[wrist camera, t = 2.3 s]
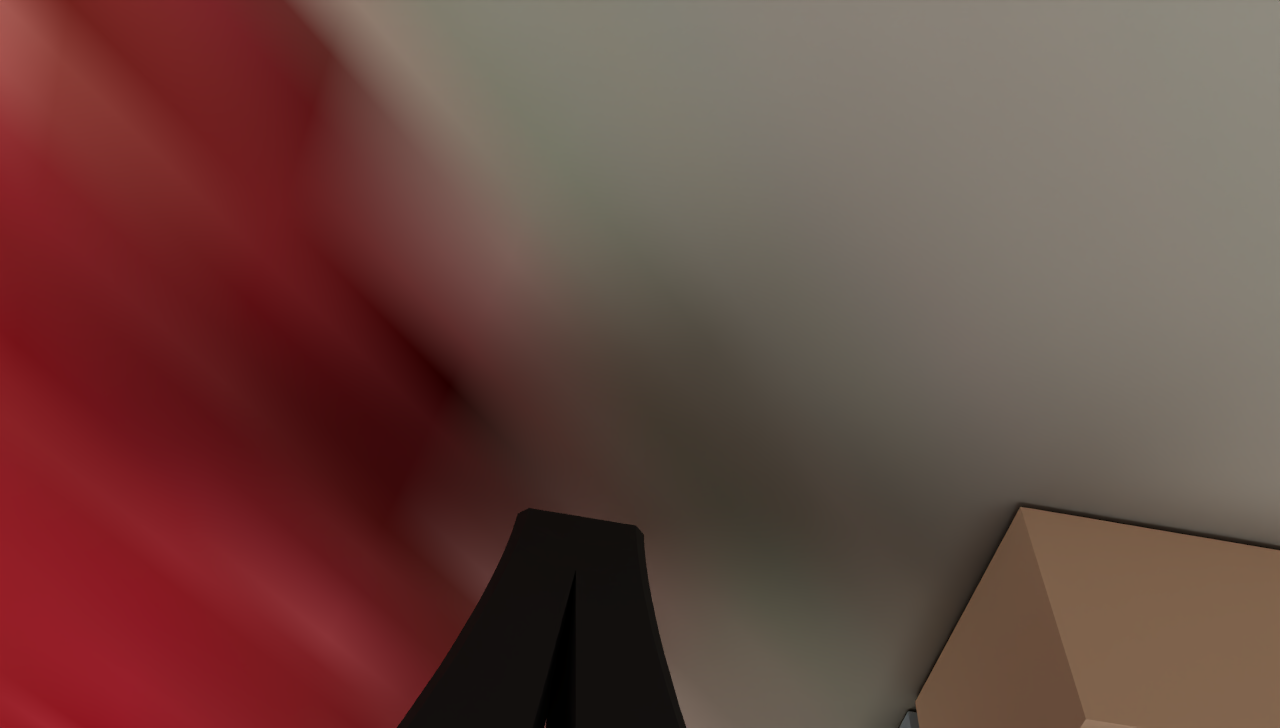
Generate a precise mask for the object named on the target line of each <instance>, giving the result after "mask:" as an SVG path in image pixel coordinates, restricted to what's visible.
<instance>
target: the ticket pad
mask: <svg viewBox="0 0 1280 728" xmlns="http://www.w3.org/2000/svg"><path fill="white" fill-rule="evenodd" d="M899 728H919V722H918V716H917V713H916V712H910V711H908V712H907V714H906V716H905V718H904V720H903V722H902V723H901V725H900V727H899Z"/></svg>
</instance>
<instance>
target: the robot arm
mask: <svg viewBox="0 0 1280 728" xmlns="http://www.w3.org/2000/svg"><path fill="white" fill-rule="evenodd" d="M545 722H546V728H686V726H685V722H684V719H683V716H682V713H681V710H680V707H679V704H678V700H677V697H676V693H675V690H674V686H673V683H672V679H671V676H670V672H669V669H668V665H667V662H666V658H665V655H664V651H663V647H662V643H661V639H660V635H659V631H658V626H657V621H656V617H655V612H654V607H653V603H652V598H651V592H650V587H649V581H648V574H647V568H646V559H645V550H644V535H643V533H642V532H641V531H640V530H639V529H638V527H637V526H635V525H629V524H623V523H617V522H610V521H604V520H598V519H592V518H586V517H580V516H574V515H568V514H562V513H556V512H550V511H543V510H537V509H531V508H528V509H526V510H524V511H522V512H520V513H518V515H517V518H516V521H515V525H514V528H513V531H512V534H511V536H510V539H509V541H508V543H507V546H506V548H505V551H504V553H503V555H502V557H501V560H500V562H499V564H498V566H497V568H496V570H495V572H494V574H493V576H492V578H491V580H490V582H489V584H488V585H487V587H486V589H485V591H484V593H483V595H482V597H481V599H480V601H479V602H478V604H477V606H476V608H475V609H474V611H473V613H472V614H471V616H470V618H469V619H468V621H467V623H466V624H465V626H464V628H463V629H462V631H461V633H460V634H459V636H458V638H457V639H456V641H455V643H454V644H453V646H452V648H451V649H450V651H449V653H448V654H447V656H446V657H445V659H444V660H443V662H442V663H441V665H440V666H439V668H438V669H437V671H436V672H435V674H434V675H433V677H432V678H431V680H430V681H429V682H428V684H427V685H426V687H425V688H424V690H423V691H422V693H421V694H420V695H419V697H418V698H417V700H416V701H415V703H414V704H413V706H412V707H411V708H410V710H409V711H408V713H407V714H406V716H405V717H404V719H403V720H402V721H401V723H400V724H399V725H398V727H397V728H544V726H545Z"/></svg>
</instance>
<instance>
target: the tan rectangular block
mask: <svg viewBox="0 0 1280 728" xmlns="http://www.w3.org/2000/svg"><path fill="white" fill-rule="evenodd" d="M915 704H916V710H917V716H918V722H919V728H1280V550H1274V549H1268V548H1262V547H1256V546H1250V545H1244V544H1239V543H1233V542H1227V541H1221V540H1215V539H1209V538H1203V537H1197V536H1191V535H1185V534H1179V533H1173V532H1167V531H1162V530H1156V529H1150V528H1144V527H1138V526H1132V525H1126V524H1120V523H1114V522H1108V521H1102V520H1096V519H1090V518H1084V517H1079V516H1073V515H1067V514H1061V513H1055V512H1049V511H1043V510H1037V509H1031V508H1025V507H1020V508H1019V510H1018V512H1017V514H1016V516H1015V517H1014V519H1013V521H1012V523H1011V525H1010V527H1009V529H1008V530H1007V532H1006V534H1005V536H1004V538H1003V540H1002V542H1001V543H1000V545H999V547H998V549H997V551H996V553H995V555H994V556H993V558H992V560H991V562H990V564H989V566H988V568H987V569H986V571H985V573H984V575H983V577H982V579H981V581H980V582H979V584H978V586H977V588H976V590H975V592H974V594H973V595H972V597H971V599H970V601H969V603H968V605H967V607H966V608H965V610H964V612H963V614H962V616H961V618H960V620H959V621H958V623H957V625H956V627H955V629H954V631H953V633H952V634H951V636H950V638H949V640H948V642H947V644H946V646H945V647H944V649H943V651H942V653H941V655H940V657H939V659H938V660H937V662H936V664H935V666H934V668H933V670H932V672H931V673H930V675H929V677H928V679H927V681H926V683H925V685H924V686H923V688H922V690H921V692H920V694H919V696H918V698H917V699H916V701H915Z"/></svg>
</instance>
